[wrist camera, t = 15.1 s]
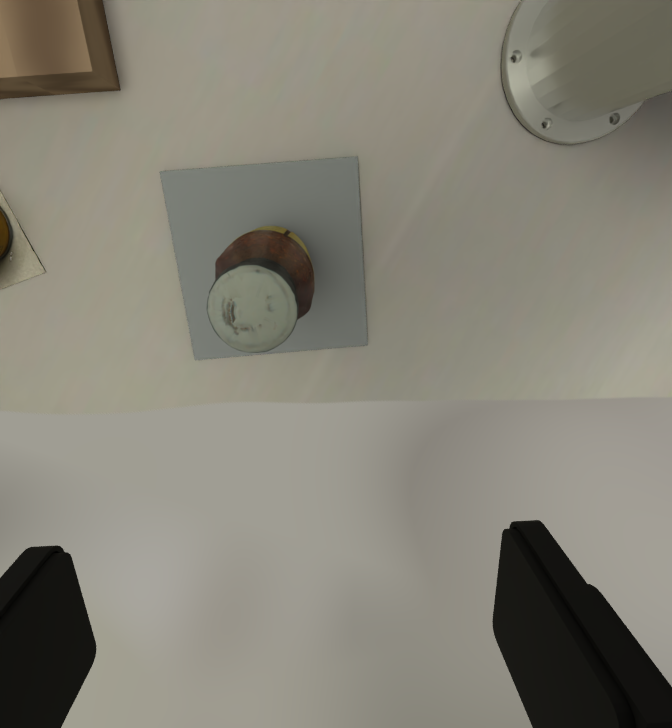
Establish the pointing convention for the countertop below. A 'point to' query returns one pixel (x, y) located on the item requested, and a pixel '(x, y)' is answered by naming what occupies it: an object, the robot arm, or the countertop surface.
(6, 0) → the socket block
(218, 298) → the sauce bottle
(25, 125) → the countertop surface
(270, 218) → the rubber mat
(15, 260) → the condiment
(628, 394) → the countertop surface
